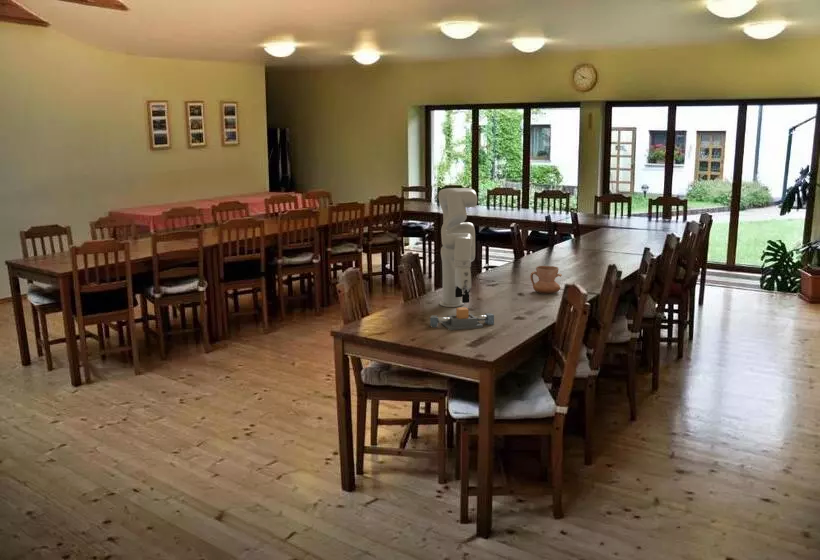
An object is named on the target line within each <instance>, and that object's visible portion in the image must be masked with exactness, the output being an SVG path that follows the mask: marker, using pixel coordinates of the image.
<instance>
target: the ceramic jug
mask: <svg viewBox="0 0 820 560" xmlns="http://www.w3.org/2000/svg"><path fill="white" fill-rule="evenodd" d="M559 269H560V268H559V267H558V266H555V265H554V266H553V265H538V266H536V267H535V271H534V270H533V271H532V272H530V277H529V279H530V281H531V283H532V288H533V290H534V291H535V292H537V293H539V294H542V295H552V294H555V293H558V292H559V291H560V290H561V286H560V284H559V283H558V282H556V278H558V277H560V278H562V276H563V275H562V274H561V273H559ZM534 275H535V276H536V277H538V281H537V282H535V281H534V278H533V277H534Z"/></svg>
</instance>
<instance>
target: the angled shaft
mask: <svg viewBox="0 0 820 560" xmlns="http://www.w3.org/2000/svg"><path fill="white" fill-rule="evenodd" d="M429 319H430V320H429V324H430V325H429V326H432V327H431V328H437V327H438V326H439V323H441V324H442V323H450V318H447V317H443V316H442V317H439V315H431V316H430V318H429ZM437 325H438V326H437Z"/></svg>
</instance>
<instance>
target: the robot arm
mask: <svg viewBox="0 0 820 560" xmlns="http://www.w3.org/2000/svg"><path fill="white" fill-rule="evenodd" d="M438 201H439V205H440V208H441V210H442V217H443V219H442V220H443V221H442V223H443V224H442V225H441V229H440V234H441V235H440V237H441V244H442V246H441V248H440V257H441V265H442V271H441V272H442V273H441V274H442V300H440V301H439V305H440V306H441V307H445V308H446V307H447V308H460V307H463V306H464V305H465V304H467V303H470V291H471V290H470V289H472V273H471V271H472V270H471V267H472V262H474V261H475V258H476V229H475V225H474V223H472V222H469V221H466V220H467V217H468V216H467V209H466V208H475V207H476V206H477V204H478V196H477V192H476V191H475V189H473V188H469V187H464V188H463V187H462V188H461V187H459V188H458V187H455V188H454V187H452V188H451V187H448V188H443V189H440V190H439V192H438Z"/></svg>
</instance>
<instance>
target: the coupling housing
mask: <svg viewBox="0 0 820 560" xmlns="http://www.w3.org/2000/svg"><path fill="white" fill-rule="evenodd" d="M475 316H476V315H474V314H472V313H469V317H471V318H466V319H454V318H456V314H452V315H447V317H446V318H450V323H441V324H442V325H443V326H444V327H445V328H446V327H447V328H448V329H449V330H448V329H447V328H446V329H447V330H448V331H456V330H457V331H458V330H459V331H460V330H470V329H471V330H472V329H481V328H483V327H484V325H483V324H482V323H481V322H480V321H477V318H476V317H475Z"/></svg>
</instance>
